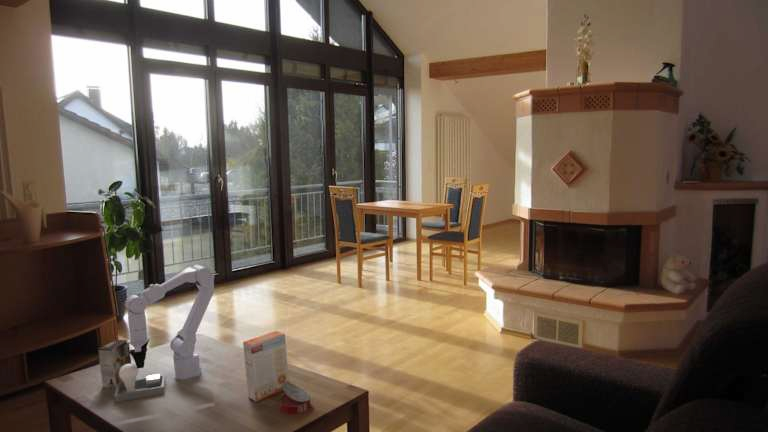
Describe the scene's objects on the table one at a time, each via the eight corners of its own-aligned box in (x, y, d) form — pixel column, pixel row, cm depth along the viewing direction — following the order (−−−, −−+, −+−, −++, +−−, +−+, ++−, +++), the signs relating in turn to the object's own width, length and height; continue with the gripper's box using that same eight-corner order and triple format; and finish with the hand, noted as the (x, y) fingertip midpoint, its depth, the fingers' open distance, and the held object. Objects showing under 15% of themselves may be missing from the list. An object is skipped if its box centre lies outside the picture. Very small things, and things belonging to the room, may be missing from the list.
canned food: (293, 412, 182) (300, 383, 185) (313, 418, 176) (320, 387, 179) (268, 410, 174) (276, 379, 177) (288, 415, 168) (295, 383, 171)
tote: (165, 383, 198) (164, 374, 198) (164, 395, 188) (163, 386, 188) (119, 391, 193) (118, 382, 192) (115, 405, 183) (114, 395, 182)
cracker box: (280, 383, 194) (276, 329, 191) (289, 388, 190) (286, 333, 187) (246, 397, 185) (242, 340, 182) (255, 403, 180) (251, 345, 177)
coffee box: (119, 378, 204) (114, 339, 202) (133, 379, 203) (129, 339, 201) (102, 389, 195) (97, 348, 193) (117, 390, 194) (112, 349, 192)
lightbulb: (122, 399, 185) (119, 369, 183) (120, 392, 190) (117, 363, 188) (141, 393, 188) (138, 364, 187) (138, 387, 193) (135, 359, 192)
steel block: (161, 384, 195) (160, 373, 194) (160, 390, 191) (159, 378, 190) (148, 387, 193) (146, 375, 193) (147, 392, 189) (146, 380, 188)
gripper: (127, 323, 195) (131, 358, 197) (123, 336, 182) (127, 373, 184) (148, 320, 198) (151, 355, 199) (145, 333, 184) (149, 369, 186)
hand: (141, 363), depth 192 cm, fingers open, 7 cm apart
